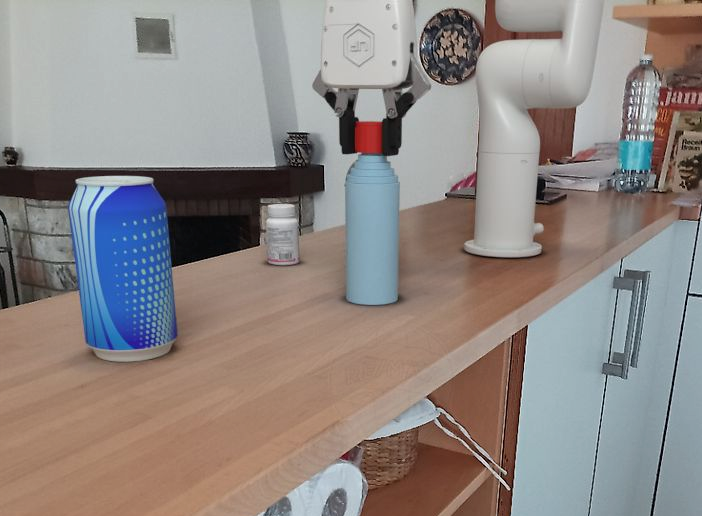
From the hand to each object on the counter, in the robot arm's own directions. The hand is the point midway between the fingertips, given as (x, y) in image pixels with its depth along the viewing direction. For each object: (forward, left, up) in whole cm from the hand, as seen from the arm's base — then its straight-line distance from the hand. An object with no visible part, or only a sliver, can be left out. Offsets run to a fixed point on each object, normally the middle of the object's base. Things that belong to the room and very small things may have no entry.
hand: (370, 152), depth 90 cm
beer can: (+31, -3, -17) cm, 36 cm away
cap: (-1, 0, 0) cm, 1 cm away
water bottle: (-1, 0, -17) cm, 17 cm away
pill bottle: (-9, -25, -17) cm, 32 cm away
